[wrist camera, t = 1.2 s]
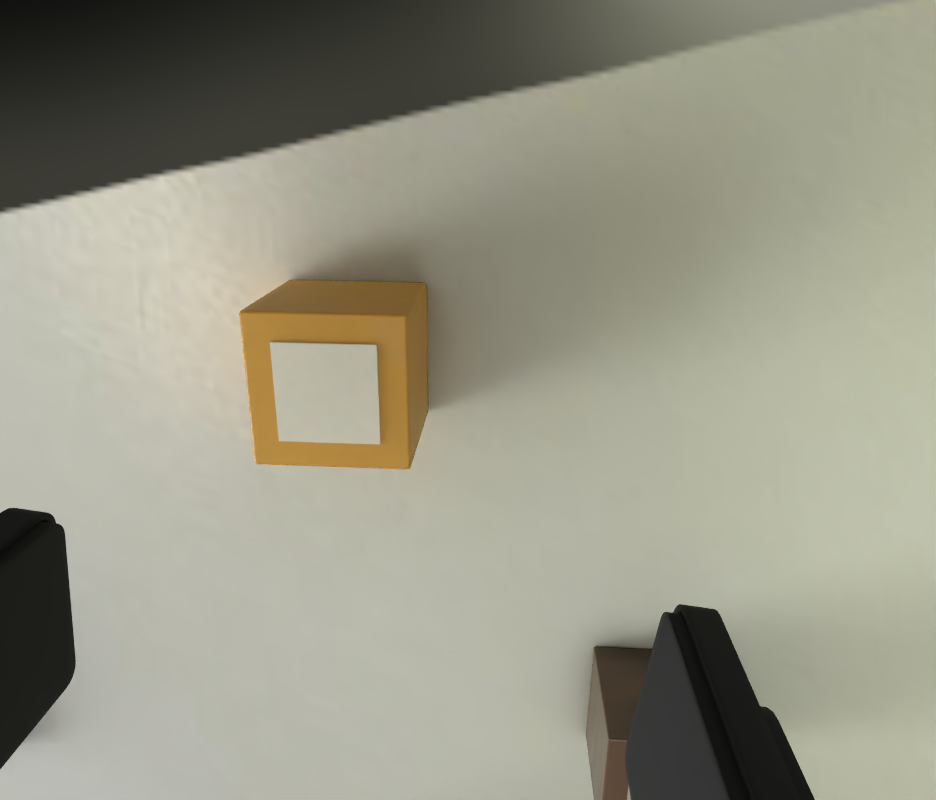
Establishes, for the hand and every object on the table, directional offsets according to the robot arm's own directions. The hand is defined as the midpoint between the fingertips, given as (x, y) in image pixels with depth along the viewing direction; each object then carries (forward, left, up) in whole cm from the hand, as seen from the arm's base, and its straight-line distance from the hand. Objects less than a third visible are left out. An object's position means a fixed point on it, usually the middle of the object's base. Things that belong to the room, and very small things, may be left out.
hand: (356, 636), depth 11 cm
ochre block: (+3, 0, -16) cm, 16 cm away
